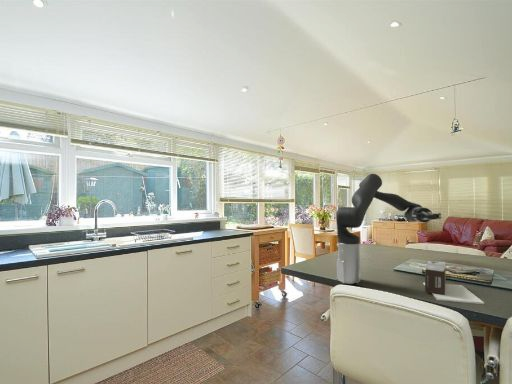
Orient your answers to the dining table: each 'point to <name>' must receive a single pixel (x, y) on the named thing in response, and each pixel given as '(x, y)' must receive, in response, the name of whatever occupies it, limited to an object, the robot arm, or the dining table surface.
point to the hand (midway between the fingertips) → (432, 217)
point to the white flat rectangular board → (457, 295)
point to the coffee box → (435, 277)
